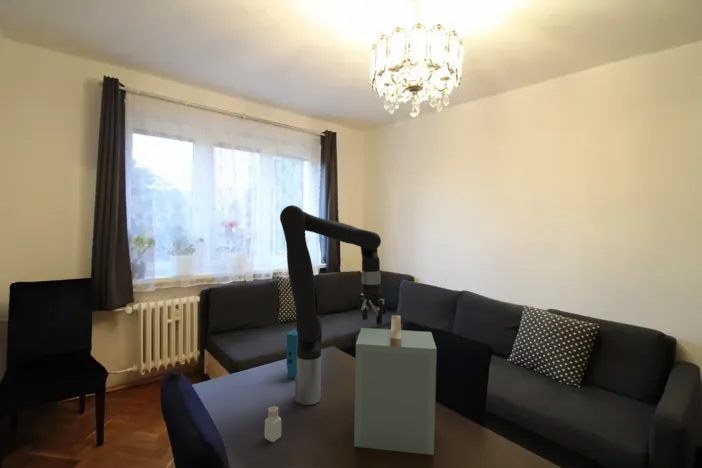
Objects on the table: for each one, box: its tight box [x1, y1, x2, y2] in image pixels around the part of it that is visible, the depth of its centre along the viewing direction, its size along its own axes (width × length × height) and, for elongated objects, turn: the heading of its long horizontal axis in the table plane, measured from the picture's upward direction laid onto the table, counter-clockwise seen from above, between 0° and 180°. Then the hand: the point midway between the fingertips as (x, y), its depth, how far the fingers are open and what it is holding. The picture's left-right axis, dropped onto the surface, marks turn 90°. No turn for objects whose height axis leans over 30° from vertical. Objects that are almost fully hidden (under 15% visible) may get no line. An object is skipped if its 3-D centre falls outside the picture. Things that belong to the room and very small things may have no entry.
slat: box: [390, 314, 402, 347], centre depth 115 cm, size 3×26×2 cm, turn 172°
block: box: [286, 328, 298, 380], centre depth 154 cm, size 12×5×20 cm, turn 153°
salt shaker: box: [264, 405, 282, 443], centre depth 109 cm, size 4×4×10 cm
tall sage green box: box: [353, 327, 438, 456], centre depth 111 cm, size 24×16×32 cm, turn 82°
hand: (371, 322), depth 137 cm, fingers open, 8 cm apart
